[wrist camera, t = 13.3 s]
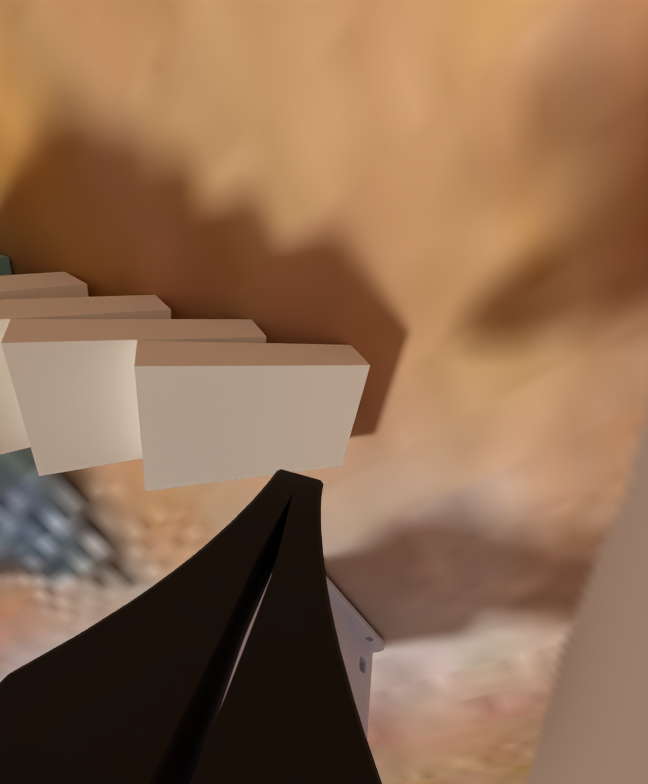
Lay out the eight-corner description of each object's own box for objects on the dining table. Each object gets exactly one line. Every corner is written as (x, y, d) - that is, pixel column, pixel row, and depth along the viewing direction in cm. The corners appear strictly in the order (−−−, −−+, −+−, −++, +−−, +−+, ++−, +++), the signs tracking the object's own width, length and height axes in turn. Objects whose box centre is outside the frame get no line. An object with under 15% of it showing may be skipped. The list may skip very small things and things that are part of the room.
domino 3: (370, 365, 14) (134, 366, 11) (341, 466, 16) (145, 491, 13) (351, 344, 15) (137, 340, 12) (327, 440, 18) (146, 458, 14)
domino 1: (170, 309, 15) (-134, 326, 10) (173, 413, 17) (-66, 469, 12) (155, 294, 16) (-127, 303, 11) (159, 394, 18) (-65, 439, 13)
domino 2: (266, 336, 14) (1, 343, 10) (254, 439, 17) (38, 476, 13) (251, 319, 15) (10, 318, 11) (242, 417, 18) (43, 444, 14)
